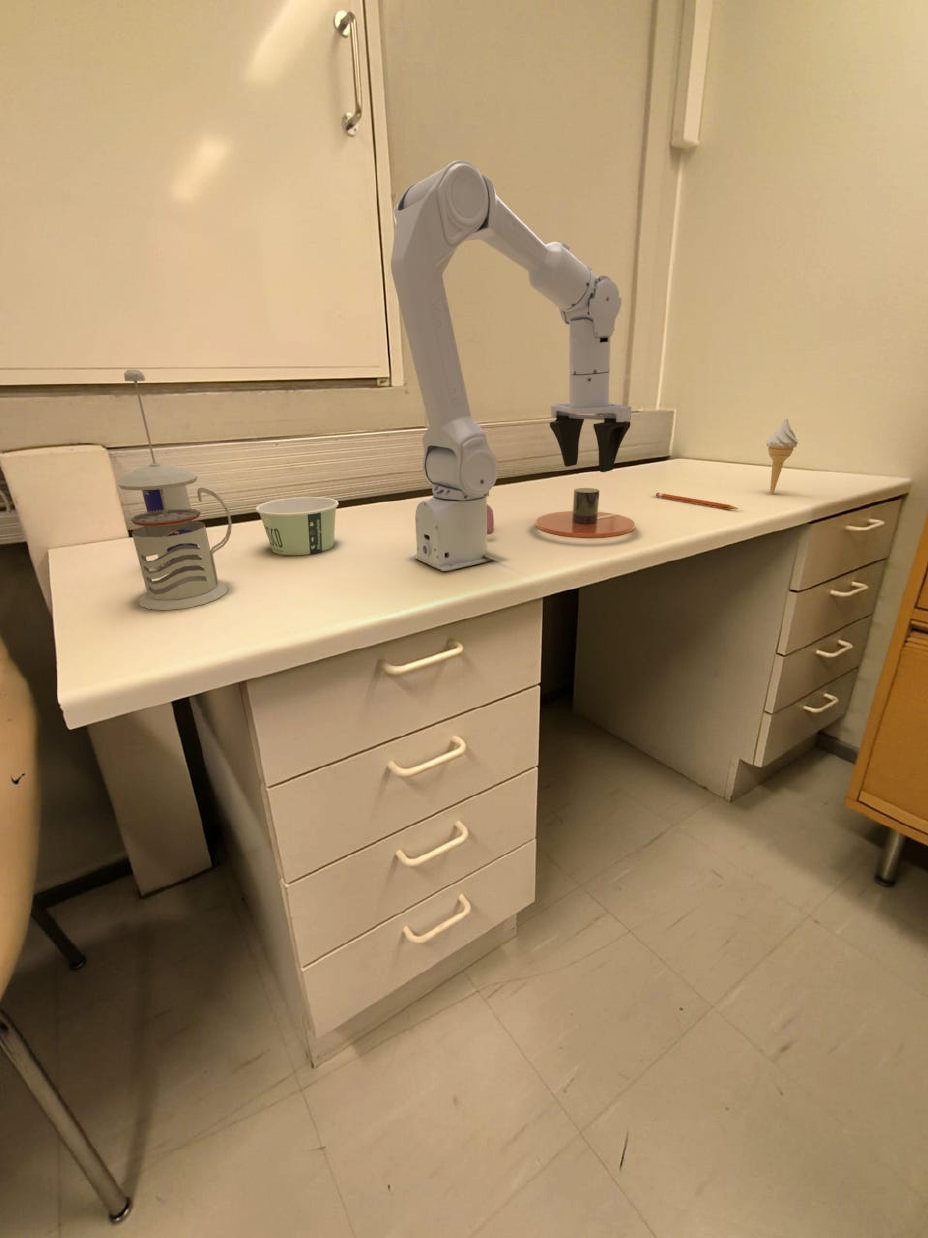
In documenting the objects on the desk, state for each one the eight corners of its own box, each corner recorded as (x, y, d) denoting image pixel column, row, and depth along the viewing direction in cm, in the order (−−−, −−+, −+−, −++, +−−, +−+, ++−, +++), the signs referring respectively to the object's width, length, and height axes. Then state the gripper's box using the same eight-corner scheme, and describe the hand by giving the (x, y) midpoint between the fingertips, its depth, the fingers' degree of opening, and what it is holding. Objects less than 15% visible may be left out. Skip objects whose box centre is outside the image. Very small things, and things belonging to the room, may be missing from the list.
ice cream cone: (750, 492, 118) (764, 416, 112) (772, 490, 120) (786, 415, 114) (771, 497, 113) (786, 418, 107) (793, 495, 115) (810, 417, 109)
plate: (584, 543, 81) (587, 504, 79) (516, 523, 93) (517, 489, 91) (655, 526, 89) (659, 491, 87) (584, 510, 101) (586, 478, 99)
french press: (142, 588, 70) (85, 370, 61) (240, 574, 75) (202, 368, 65) (135, 616, 62) (68, 368, 52) (246, 598, 66) (203, 366, 57)
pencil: (657, 495, 116) (658, 492, 116) (740, 510, 103) (740, 506, 103) (655, 496, 116) (655, 492, 116) (737, 510, 102) (738, 506, 102)
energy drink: (156, 571, 77) (134, 482, 72) (165, 560, 81) (144, 476, 77) (199, 567, 78) (180, 479, 73) (204, 557, 83) (187, 473, 78)
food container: (358, 544, 87) (354, 502, 85) (293, 563, 79) (286, 517, 76) (311, 532, 95) (306, 493, 92) (246, 549, 86) (239, 506, 83)
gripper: (648, 369, 78) (642, 468, 84) (574, 371, 89) (573, 459, 95) (612, 374, 75) (609, 477, 81) (540, 376, 86) (542, 466, 92)
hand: (587, 468), depth 88 cm, fingers open, 7 cm apart
